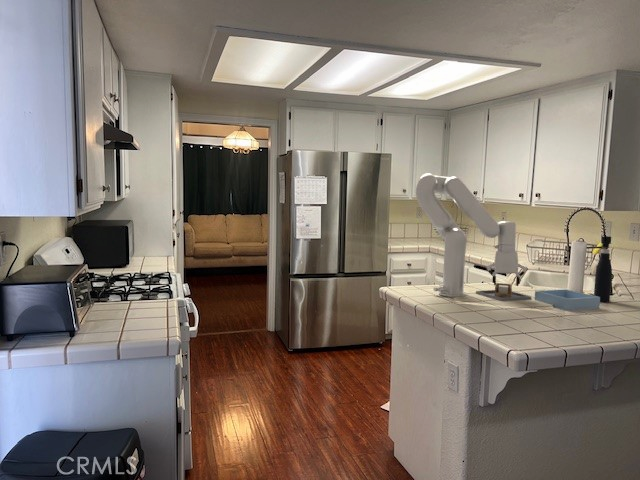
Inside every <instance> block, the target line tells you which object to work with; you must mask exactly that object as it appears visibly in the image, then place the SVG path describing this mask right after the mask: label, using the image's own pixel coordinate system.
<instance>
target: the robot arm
mask: <svg viewBox="0 0 640 480" xmlns="http://www.w3.org/2000/svg"><path fill="white" fill-rule="evenodd" d="M436 194H438V195H448V196H449V198H451V200H452V201H453V202H454V203H455V204H456V206H457V207H458V208H459V210H460V211H461V212H462V213H463V214H465V216H467V217H468V218H469V219H470V220H471V221H472V222H473V223H474V224H475V225H476V227H477V228H478V229H479V232H480V234H481V235H483V236H484V237H486V238H489V239H493V238H496V237H497V245H494V249H497V250H495V255H494V262H493V263H490V264H488V265H487V266H486V267H485V268H486V270H487V271H488V273H489V275H491V276H492V283H493V285H494V286H495V285H496V283H497V282H496V281H497V274H514V275H516V282H515V283H516V287H518V286H519V285H520V284H521V282H520V281H521V277H522V276H524V275H525V273H526V271H527V267H526V266H524V265H521V264H520V263H519V256H518V251H517V250H516V233H517V232H516V231H517V229H516V228H517V226H516V222H515V221H510V220H509V221H507V220H505V221H504V220H503V221H496V220H495V219H494V217H493V216H492V215H491V214H490V213H489V212H488V211H487V210H486V208H485V207H484V206H483V205H482V203H481V202H480V201H479V200H478V198H476V196H475V195H474V194H473V192H472V191H471V190H470V189H469V187H467V185H466V184H465V183H464V182H463V181H462V179H460V178H459V177H457V176H450V177H449V176H440V175H434V174H433V173H424V174H423V175H422V176H420V178H419V180H418V182H417V184H416V187H415V196H416V201H417V203H418V205H419V206H420V208H421V210H422V211H423V212H424V213H425V215H426V216H427V218H428V219H429V221H430V223H431V225H432V226H433V228H434V229H435V230H436V232H437V233H438V234H439V236H440V237H441V239H443V241H444V249H443V250H444V252H443V271H442V272H443V273H442V284H440V286H434V287H433V291H434V292H438V294H439V295H440V296H443V297H449V298H456V297H458V296H460V297H461V296H462V297H463V296H467V293H466V292H464V287H465V286H464V283H465V267H466V249H467V241H468V240H467V235H466V233H465V231H464V230H463V229H461V228H460V226H459V225H458V224H457V222H456V221H455V220H454V218H453V217H452V215H451V213H450V212H449V211H448V210H446V208H445V206H443V204H442V203H441V201H440V200H439V199H438V197H437V196H436ZM493 267H494V271H492V270H491V268H493ZM519 268H520V269H522V271H520V272H519Z"/></svg>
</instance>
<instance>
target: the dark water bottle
mask: <svg viewBox="0 0 640 480" xmlns="http://www.w3.org/2000/svg"><path fill="white" fill-rule="evenodd" d="M603 236H605V235H603ZM603 236H601V240H600V243H601V244H602V246H601V247H602V249H601V250H600V256H599V260H598V261H597V265H596V268H595V277H594V289H593V290H594V291H593V296H598V297H600V303H610V301H611V300H610V299H611V298H610V297H611V288H612V275H613V274H612V273H613V268H612V263H611V260H610V257H611V254H610V251H611V250H610V249H609V248H610V244H612V236H608V235H607V236H605V237H606V242H605V237H603Z"/></svg>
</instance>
